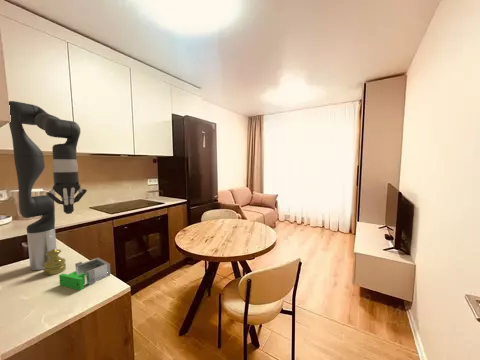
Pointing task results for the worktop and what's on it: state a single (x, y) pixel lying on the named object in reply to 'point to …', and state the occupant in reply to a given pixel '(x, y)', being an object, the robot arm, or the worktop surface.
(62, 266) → the gold twisted vase
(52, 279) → the worktop surface
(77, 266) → the grey u-shaped bracket
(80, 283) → the pipe clamp
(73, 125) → the robot arm
